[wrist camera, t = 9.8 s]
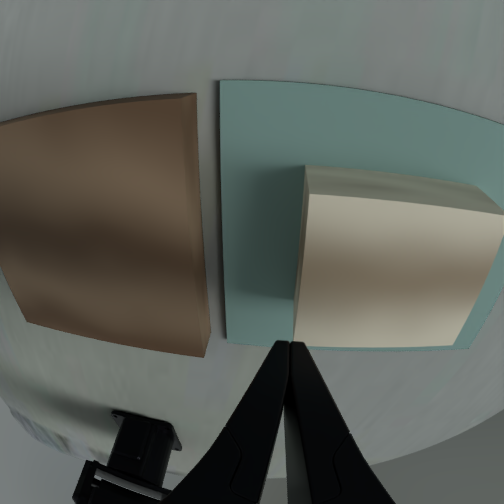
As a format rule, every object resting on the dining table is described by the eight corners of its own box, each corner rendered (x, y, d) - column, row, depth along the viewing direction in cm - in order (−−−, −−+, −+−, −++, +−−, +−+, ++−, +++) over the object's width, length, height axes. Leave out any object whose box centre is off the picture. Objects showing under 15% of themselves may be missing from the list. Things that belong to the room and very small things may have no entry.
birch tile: (435, 305, 16) (452, 345, 13) (293, 300, 16) (292, 345, 14) (476, 185, 12) (509, 216, 9) (305, 164, 12) (309, 194, 10)
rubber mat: (467, 345, 18) (468, 348, 17) (227, 339, 19) (227, 342, 19) (549, 142, 10) (552, 144, 10) (221, 80, 11) (219, 80, 11)
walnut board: (210, 331, 19) (203, 357, 17) (40, 303, 20) (26, 321, 18) (196, 92, 11) (180, 98, 10) (-14, 126, 12) (-38, 137, 11)
